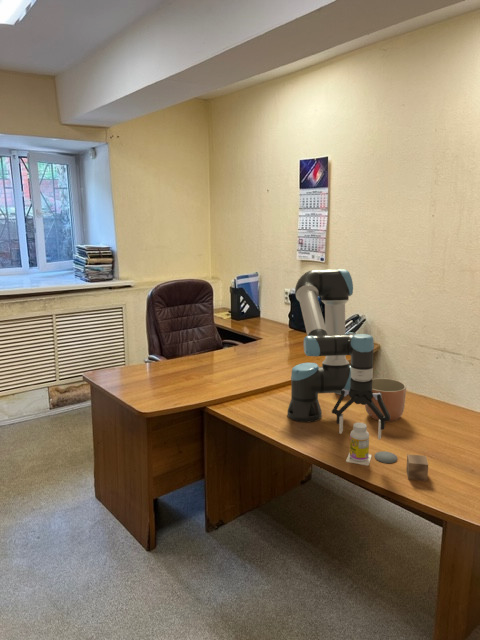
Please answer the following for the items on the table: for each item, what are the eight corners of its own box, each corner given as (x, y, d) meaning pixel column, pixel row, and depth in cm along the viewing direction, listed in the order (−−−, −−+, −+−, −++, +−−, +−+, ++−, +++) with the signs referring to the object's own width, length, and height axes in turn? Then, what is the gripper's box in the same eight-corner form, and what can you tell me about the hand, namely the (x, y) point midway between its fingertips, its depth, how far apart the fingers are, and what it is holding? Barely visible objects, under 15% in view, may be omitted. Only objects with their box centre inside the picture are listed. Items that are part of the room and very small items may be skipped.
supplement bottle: (347, 453, 173) (348, 421, 170) (364, 452, 174) (365, 420, 171) (353, 462, 167) (353, 429, 164) (371, 461, 167) (372, 428, 164)
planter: (362, 408, 214) (363, 377, 211) (401, 410, 211) (403, 378, 207) (364, 424, 198) (365, 390, 195) (406, 427, 194) (408, 392, 191)
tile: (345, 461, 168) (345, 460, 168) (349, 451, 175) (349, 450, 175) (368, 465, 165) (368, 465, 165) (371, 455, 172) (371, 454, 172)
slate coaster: (373, 460, 168) (373, 459, 168) (376, 450, 175) (376, 449, 175) (396, 465, 165) (396, 464, 165) (398, 454, 172) (398, 453, 172)
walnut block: (408, 479, 156) (409, 463, 155) (406, 470, 162) (407, 454, 160) (427, 481, 155) (428, 464, 153) (424, 471, 160) (425, 455, 159)
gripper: (323, 377, 165) (323, 433, 169) (397, 385, 155) (395, 444, 159) (328, 371, 172) (328, 425, 176) (399, 378, 162) (397, 435, 166)
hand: (360, 434), depth 168 cm, fingers open, 13 cm apart
